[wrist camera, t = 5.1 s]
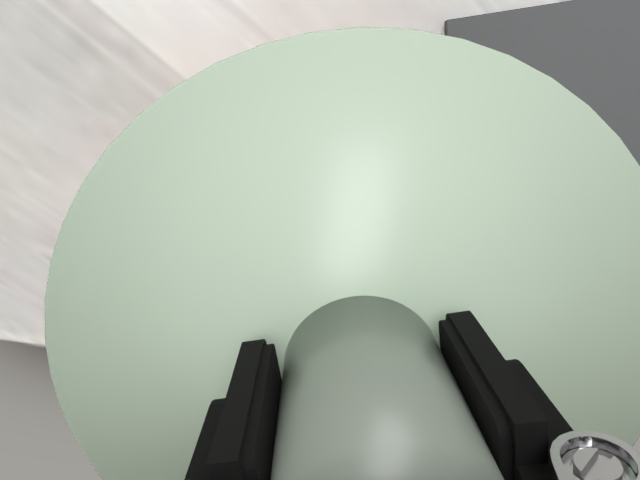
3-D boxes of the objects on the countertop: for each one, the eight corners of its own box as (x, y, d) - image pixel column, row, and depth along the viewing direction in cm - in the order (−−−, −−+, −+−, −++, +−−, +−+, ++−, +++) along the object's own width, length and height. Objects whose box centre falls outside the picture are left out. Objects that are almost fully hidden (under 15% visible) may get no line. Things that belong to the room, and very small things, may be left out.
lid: (680, -25, 10) (1138, -173, 4) (639, 533, 15) (832, 796, 9) (-34, 94, 11) (-421, 94, 5) (151, 593, 15) (58, 875, 10)
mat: (826, -39, 22) (837, -42, 21) (767, 303, 27) (775, 306, 27) (444, 21, 23) (447, 19, 23) (461, 337, 29) (464, 341, 28)
